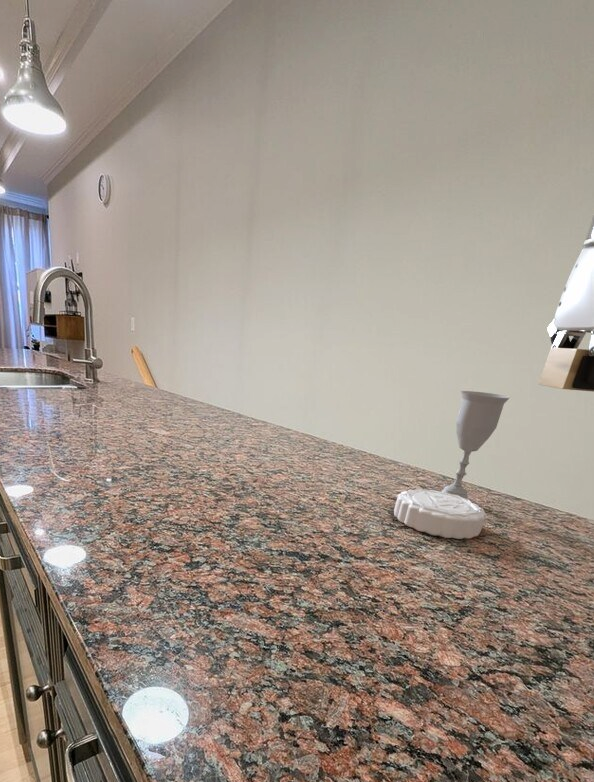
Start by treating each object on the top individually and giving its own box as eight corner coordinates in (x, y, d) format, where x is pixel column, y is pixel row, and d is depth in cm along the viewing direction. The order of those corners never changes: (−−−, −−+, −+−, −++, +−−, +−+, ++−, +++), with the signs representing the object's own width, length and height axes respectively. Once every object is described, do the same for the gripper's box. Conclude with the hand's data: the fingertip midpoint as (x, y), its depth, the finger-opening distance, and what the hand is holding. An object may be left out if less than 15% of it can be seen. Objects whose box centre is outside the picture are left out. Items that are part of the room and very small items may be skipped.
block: (572, 387, 63) (586, 350, 61) (600, 392, 59) (616, 351, 57) (537, 384, 63) (550, 347, 61) (562, 389, 59) (577, 348, 57)
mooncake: (493, 545, 61) (501, 521, 59) (401, 532, 63) (407, 508, 61) (464, 513, 72) (471, 492, 70) (387, 502, 73) (392, 482, 72)
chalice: (442, 490, 82) (472, 390, 76) (481, 502, 78) (516, 397, 71) (423, 497, 78) (453, 391, 71) (463, 510, 73) (499, 398, 66)
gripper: (730, 218, 46) (651, 397, 53) (601, 246, 62) (553, 381, 69) (658, 212, 46) (588, 392, 53) (547, 242, 62) (504, 378, 69)
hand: (569, 384), depth 61 cm, fingers closed on block, 5 cm apart
